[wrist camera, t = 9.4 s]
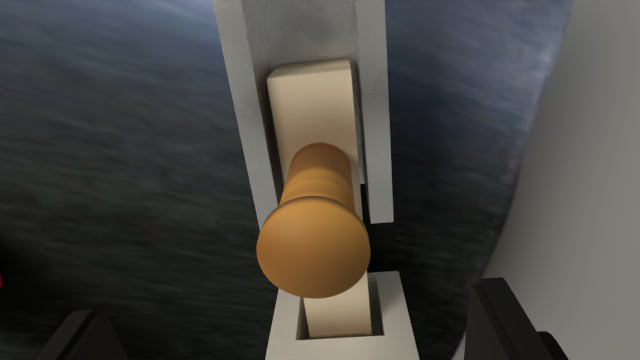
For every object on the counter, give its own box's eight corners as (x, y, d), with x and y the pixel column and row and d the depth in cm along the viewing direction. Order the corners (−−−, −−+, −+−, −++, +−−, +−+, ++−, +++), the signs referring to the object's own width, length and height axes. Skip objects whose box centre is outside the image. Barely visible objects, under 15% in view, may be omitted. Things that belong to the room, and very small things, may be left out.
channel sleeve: (217, -143, 19) (170, -200, 14) (363, -166, 19) (374, -235, 13) (275, 184, 27) (260, 232, 21) (381, 175, 26) (393, 221, 21)
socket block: (280, 278, 30) (263, 367, 23) (398, 270, 29) (419, 360, 22) (292, 336, 32) (279, 432, 25) (400, 330, 32) (420, 427, 24)
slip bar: (277, 65, 22) (227, 122, 12) (348, 57, 22) (360, 108, 11) (318, 328, 30) (309, 497, 20) (369, 325, 30) (387, 495, 20)
